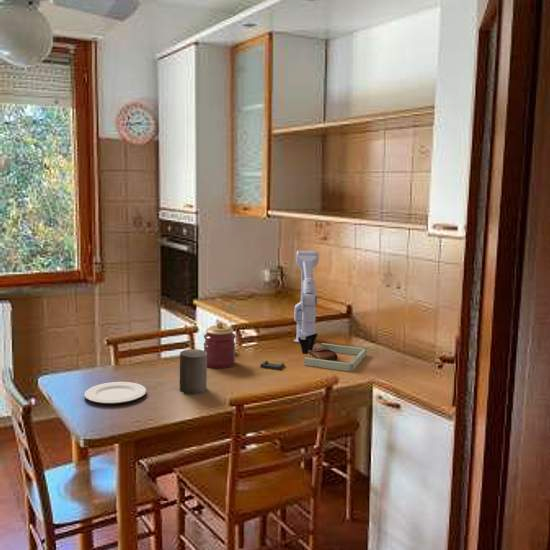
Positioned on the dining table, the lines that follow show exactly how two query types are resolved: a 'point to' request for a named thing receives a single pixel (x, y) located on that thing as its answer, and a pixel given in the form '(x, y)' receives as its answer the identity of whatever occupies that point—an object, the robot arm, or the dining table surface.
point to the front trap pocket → (272, 365)
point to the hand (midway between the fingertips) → (307, 351)
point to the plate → (115, 392)
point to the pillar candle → (193, 371)
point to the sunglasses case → (322, 353)
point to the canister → (220, 346)
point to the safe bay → (338, 365)
